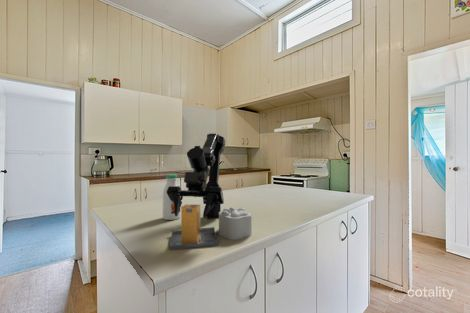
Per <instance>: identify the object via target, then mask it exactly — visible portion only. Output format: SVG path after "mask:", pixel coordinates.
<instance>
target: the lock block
mask: <svg viewBox="0 0 470 313" xmlns="http://www.w3.org/2000/svg"><path fill="white" fill-rule="evenodd" d="M180 218H181V230H182V242H194V243H197V242H198V241H199V239H200V238H201V234H200V228H201V204H185V205H183V206H181V207H180Z"/></svg>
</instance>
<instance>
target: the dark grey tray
mask: <svg viewBox="0 0 470 313" xmlns="http://www.w3.org/2000/svg"><path fill="white" fill-rule="evenodd" d="M200 234H201V238H200V239H199V241H198V242H197V243H194V242H182V229H176V230H175V229H173V230H171V237H170V243H169V251H174V250H184V249H193V248H194V249H196V248H205V247H206V248H207V247H218V246H220V241H219V238H218V235H217V233H216V230H215V227H214V226H213V227H203V228H201V227H200Z"/></svg>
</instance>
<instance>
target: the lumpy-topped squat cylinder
mask: <svg viewBox="0 0 470 313" xmlns="http://www.w3.org/2000/svg"><path fill="white" fill-rule="evenodd" d="M218 234H219V235H220V236H222V237H224V238H226V239H229V240H240V239H243V238H246V237H247V238H248V237H251V236H252V214H251V213H250V212H248V211H246V209H245V208H244V207H240V208H239V209H238V208H237V209H236V208H235V207H233V206H232V207H229V208H227V207H226V208H224V209H222V210H221V211H220V212H219V218H218Z"/></svg>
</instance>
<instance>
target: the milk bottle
mask: <svg viewBox="0 0 470 313" xmlns="http://www.w3.org/2000/svg"><path fill="white" fill-rule="evenodd" d="M165 179H166V183H165V186H164V188H163V191H162V218H163V220H165V221H174V220H178V219H180V218H181V209H180V210H179V213H178V215H177V216H175V208H174V202H173V201H171V200H170V198H169V196H168V194H167V192H166V191H167V189H168V187H170V186H179V185H178V182H177V179H178V175H177V173H176V174H175V173H174V174H173V173H171V174H166V176H165Z"/></svg>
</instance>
